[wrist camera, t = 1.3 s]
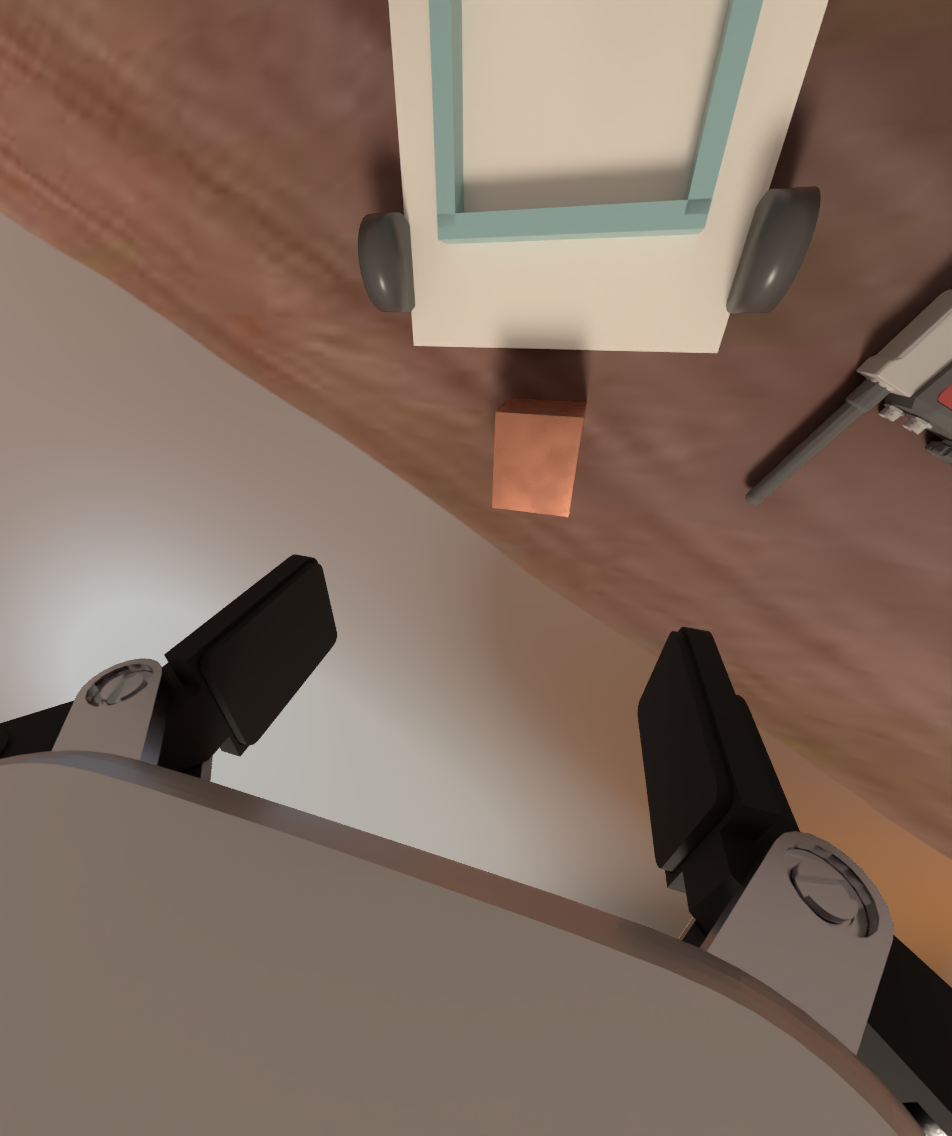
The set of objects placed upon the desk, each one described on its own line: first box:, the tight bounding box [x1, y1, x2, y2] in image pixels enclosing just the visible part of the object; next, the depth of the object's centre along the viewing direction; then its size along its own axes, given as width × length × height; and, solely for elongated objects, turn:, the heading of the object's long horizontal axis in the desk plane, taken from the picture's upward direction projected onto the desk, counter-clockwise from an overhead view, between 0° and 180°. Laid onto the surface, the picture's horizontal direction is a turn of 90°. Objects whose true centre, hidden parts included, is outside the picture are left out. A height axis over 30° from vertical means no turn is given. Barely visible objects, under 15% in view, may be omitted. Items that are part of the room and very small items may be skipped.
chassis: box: [358, 0, 828, 353], centre depth 16 cm, size 21×22×4 cm
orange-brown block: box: [492, 398, 587, 517], centre depth 25 cm, size 5×6×5 cm
